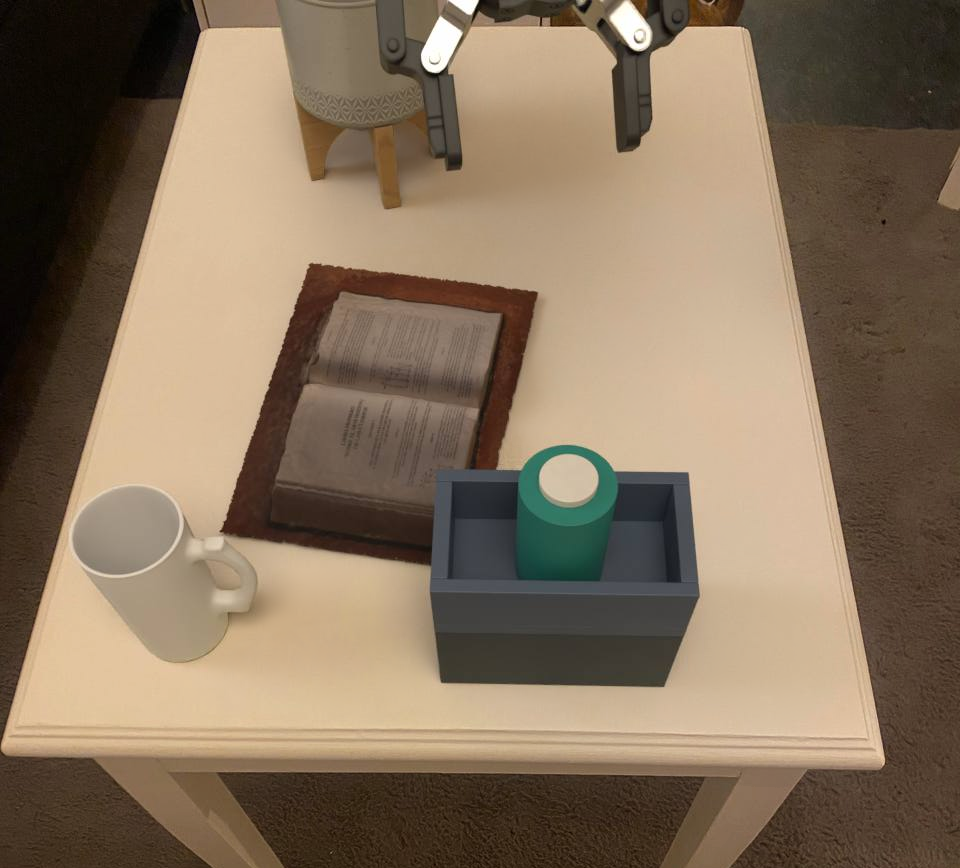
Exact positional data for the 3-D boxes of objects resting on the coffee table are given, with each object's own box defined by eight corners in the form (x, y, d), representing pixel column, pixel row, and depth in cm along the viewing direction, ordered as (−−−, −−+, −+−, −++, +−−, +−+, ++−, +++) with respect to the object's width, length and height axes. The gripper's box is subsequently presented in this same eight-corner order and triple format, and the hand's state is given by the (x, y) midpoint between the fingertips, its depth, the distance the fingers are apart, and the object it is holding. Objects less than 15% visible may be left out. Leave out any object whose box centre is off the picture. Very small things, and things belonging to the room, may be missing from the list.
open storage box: (657, 578, 68) (688, 471, 57) (664, 687, 64) (700, 596, 53) (446, 575, 68) (436, 468, 57) (440, 683, 64) (429, 591, 53)
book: (219, 540, 70) (206, 506, 66) (310, 267, 82) (303, 225, 78) (484, 584, 69) (487, 553, 65) (536, 303, 81) (542, 263, 77)
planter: (297, 133, 91) (255, -75, 75) (427, 108, 92) (413, -101, 76) (323, 221, 85) (283, 16, 69) (461, 194, 87) (453, -13, 71)
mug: (127, 664, 65) (55, 575, 54) (147, 581, 68) (83, 481, 58) (271, 670, 65) (227, 581, 54) (285, 585, 68) (246, 486, 57)
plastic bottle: (523, 522, 60) (528, 430, 52) (608, 536, 59) (625, 445, 51) (507, 595, 57) (510, 510, 49) (595, 610, 57) (612, 526, 49)
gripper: (336, -302, 36) (396, 161, 41) (697, -333, 37) (712, 126, 42) (344, -197, 43) (394, 187, 48) (647, -224, 44) (665, 157, 49)
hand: (542, 158), depth 45 cm, fingers open, 8 cm apart
